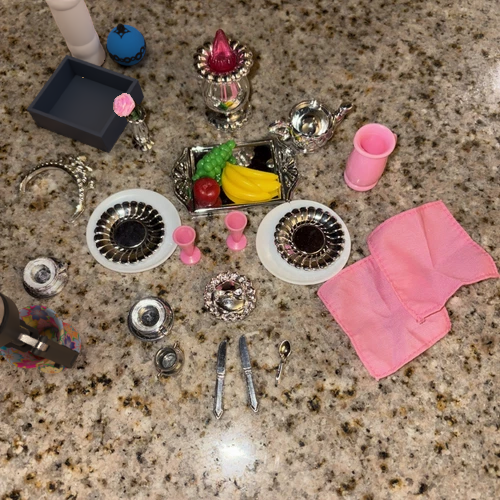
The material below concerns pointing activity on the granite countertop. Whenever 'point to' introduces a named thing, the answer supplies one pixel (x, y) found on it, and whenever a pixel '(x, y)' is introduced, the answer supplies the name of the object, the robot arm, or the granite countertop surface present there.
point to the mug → (48, 326)
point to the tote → (84, 102)
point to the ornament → (125, 45)
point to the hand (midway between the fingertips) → (48, 348)
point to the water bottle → (77, 30)
